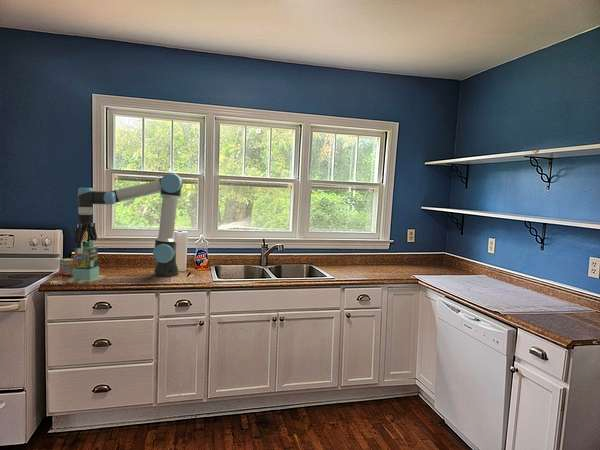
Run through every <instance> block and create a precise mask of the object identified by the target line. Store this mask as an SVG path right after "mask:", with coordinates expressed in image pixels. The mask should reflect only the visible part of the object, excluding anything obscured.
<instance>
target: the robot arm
mask: <svg viewBox="0 0 600 450" xmlns="http://www.w3.org/2000/svg"><path fill="white" fill-rule="evenodd" d="M183 185H184V181H183V179H182V177H181V176H180V175H178V174H177V173H175V172H168V173H165V174H163V176H162V177H161V178H158V179H157V180H155V181H150V182H145V183H142V184H141V183H140V184H137V185H131V186H128V187H124V188H123V187H122V188H119V189H114V190H110V191H101V190H100V191H98V190H97V191H96V190H95V191H94V189H93V188H92V187H79V188H78V190H77V205H78V206H77V207H78V211H77V212H78V215H77V217H78V218H77V220H78V221H79V224H78V223H77V224H75V232H74V237H73V242H74V243H76V248H77V250H78V254H83V245H84V244H83V243H84V242H82V240H83V238H84V235H85V233H86V232H87V234H88V237H89V239H90V240H89V241H88V242H90V245H89V247H95V244H96V243H95V241H96V240H97V239H98V236H97V231H96V230H97V229H96V222H92V221H94V215H93V214H94V207H93V205H107V206H108V205H114V204H116V203H120V202H124V201H128V200H133V199H137V198H142V197H146V196H151V195H155V194H159V193H160V194H159V195H160V196H161V197H162V201H161V208H160V209H161V210H160V218H159V219H160V221H159V227H158V235H157V237H156V238H155V239H154V240H155V241H154V248H153V251H152V256H153V258H154V260H155V261H156V265H155V268H154V270H153V275H154V276H155V277H161V278H163V277H166V278H169V277H176V276H178V275H179V274H180V272H179V267H178V263H177V241H176V239H174V234H175V226H176V225H175V224H176V218H177V217H176V215H177V206H178V199H179V198H181V194H182V188H183Z"/></svg>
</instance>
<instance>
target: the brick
mask: <svg viewBox="0 0 600 450" xmlns="http://www.w3.org/2000/svg"><path fill="white" fill-rule="evenodd" d="M99 275H100V266H95V267H91V268H74V269H73V275H72V277H73V279H80V280H91V279H94V278H96V277H99Z"/></svg>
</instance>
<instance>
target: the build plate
mask: <svg viewBox="0 0 600 450" xmlns="http://www.w3.org/2000/svg"><path fill="white" fill-rule="evenodd" d="M106 279H108V275H100V274H99V277H96V278H94V279H91V280H80V279H73V276H72V277H69V278H66V279H64V280H63V281H64V282H68V283H69V284H83V285H85V284H87V285H91V284H95V283H97V282H100V281H103V280H106ZM68 283H67V284H68Z"/></svg>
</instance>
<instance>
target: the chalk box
mask: <svg viewBox="0 0 600 450" xmlns="http://www.w3.org/2000/svg"><path fill="white" fill-rule="evenodd" d="M89 245H90V242H89V241H85V243H84V246H83V254H78V250H77V247H75V248H74V256H75V268H91V267H95V266H98V261H99V259H98V257H99V256H98V255H99V254H98V251H99V250H98V248H99V247H98V246H94V247H89Z"/></svg>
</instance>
